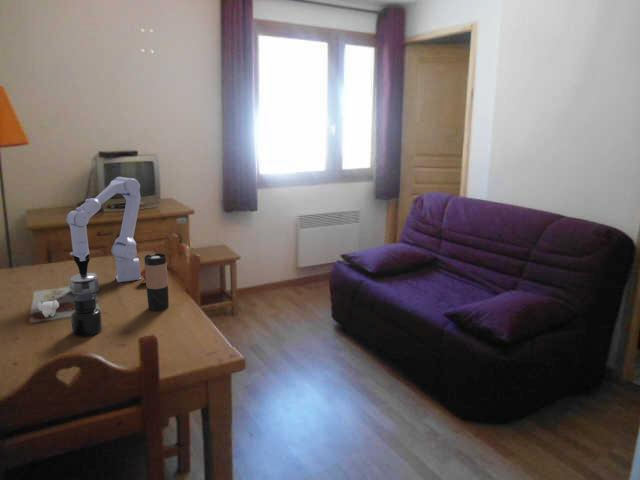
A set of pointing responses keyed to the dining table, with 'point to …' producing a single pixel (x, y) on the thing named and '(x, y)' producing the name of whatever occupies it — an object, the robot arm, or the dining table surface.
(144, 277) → the red bell pepper
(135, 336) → the dining table surface
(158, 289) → the travel mug
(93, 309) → the ink bottle
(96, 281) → the pot
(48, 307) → the elephant figurine
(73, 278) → the lid
